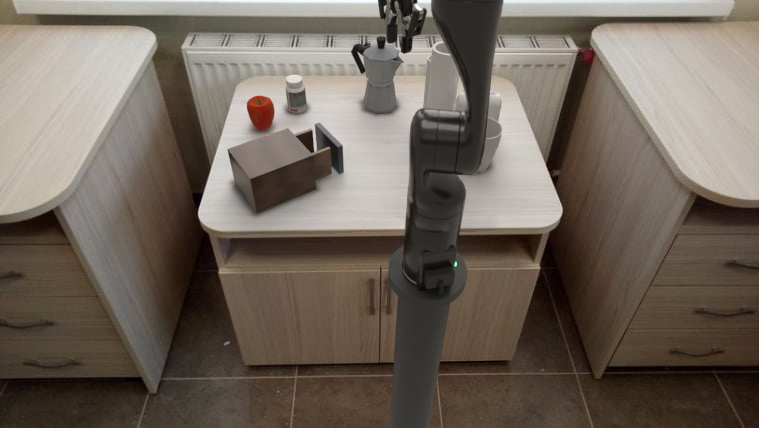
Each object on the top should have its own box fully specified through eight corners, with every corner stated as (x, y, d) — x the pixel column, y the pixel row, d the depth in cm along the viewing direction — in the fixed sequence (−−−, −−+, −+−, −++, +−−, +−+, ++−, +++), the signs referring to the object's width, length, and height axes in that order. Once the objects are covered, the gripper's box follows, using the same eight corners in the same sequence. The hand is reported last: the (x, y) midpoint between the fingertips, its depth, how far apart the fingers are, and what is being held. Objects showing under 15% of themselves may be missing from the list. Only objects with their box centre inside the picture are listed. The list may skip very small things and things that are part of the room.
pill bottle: (310, 108, 136) (308, 78, 130) (296, 115, 134) (293, 85, 128) (298, 101, 139) (295, 71, 133) (284, 108, 136) (280, 78, 130)
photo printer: (451, 140, 127) (457, 94, 119) (451, 129, 130) (457, 84, 122) (495, 143, 127) (504, 97, 118) (494, 132, 130) (503, 87, 121)
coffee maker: (410, 104, 138) (414, 38, 125) (391, 120, 133) (394, 53, 120) (362, 86, 144) (362, 21, 131) (343, 101, 139) (340, 34, 126)
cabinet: (292, 161, 121) (287, 127, 115) (316, 189, 114) (313, 155, 108) (234, 183, 115) (227, 149, 109) (256, 213, 109) (249, 179, 102)
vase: (454, 132, 130) (465, 55, 116) (424, 132, 130) (431, 55, 116) (449, 106, 138) (458, 31, 124) (421, 105, 138) (427, 30, 124)
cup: (451, 159, 122) (456, 122, 115) (481, 149, 125) (487, 112, 118) (471, 180, 117) (478, 142, 110) (502, 169, 120) (510, 132, 113)
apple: (281, 124, 131) (278, 97, 126) (265, 137, 127) (260, 109, 122) (262, 116, 133) (257, 89, 128) (244, 128, 130) (239, 101, 124)
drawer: (326, 147, 123) (324, 120, 118) (348, 170, 117) (347, 143, 112) (271, 168, 118) (266, 140, 113) (292, 193, 112) (288, 166, 107)
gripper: (364, -48, 102) (364, 38, 114) (408, -23, 94) (404, 67, 106) (396, -55, 105) (394, 29, 117) (442, -32, 97) (434, 56, 109)
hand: (398, 46), depth 111 cm, fingers open, 4 cm apart
